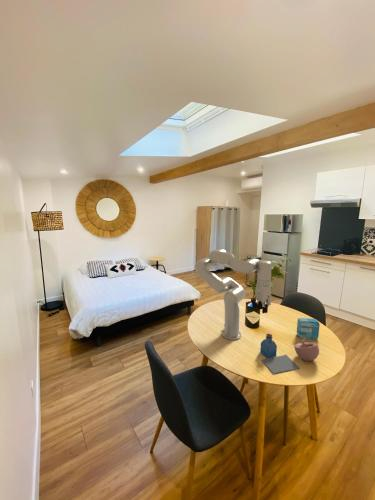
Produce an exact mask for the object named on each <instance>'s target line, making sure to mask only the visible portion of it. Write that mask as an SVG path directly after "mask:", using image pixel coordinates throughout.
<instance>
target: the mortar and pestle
mask: <svg viewBox="0 0 375 500" xmlns="http://www.w3.org/2000/svg"><path fill="white" fill-rule="evenodd" d="M306 339H307V338H303V339H302V340H301V342H300V343H296V344H295V345H294V351H295V352H296V355H297V356H298V357H299V358H300V359H301V360H304V361H307V362H311V361H315V360H316V359H317V358H318V356H320V355H319V354H320V350H319V349H320V348H319V345H318V344H317V343H316V342H311V341H310V342H309V341H307V342H306Z"/></svg>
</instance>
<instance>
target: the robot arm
mask: <svg viewBox="0 0 375 500" xmlns="http://www.w3.org/2000/svg"><path fill="white" fill-rule="evenodd" d="M218 265H221V266H226V267H229V268H230V269H231V270H233V271H235V272H237V273H242V274H245V275H248V274H252V273H254V272H256V271H257V277H256V278H257V279H256V280H257V282H256V284H255V290H254V297H255V298H256V299H257V310H262V312H261V313H262V314H268V307H269V306H271V305H272V303H271V300H272V288H271V284H272V267H273V266H272V265H273V264H272V262H271V261H269V260H266V259H265V260H263V259H262V260H261V259H258V258H254V257H253V258H249V259H247V260H242V259H238V258H236V257H235V255H234V254H233V253H232V252H227V251H226V250H225V249H224V248H218V249H214V250H211V251H210V253H209V254H208V256H207V257H204V258H202V259H199V260H198V261H196V262H195V264H194V271H195V274H196V276H197V277H198V278H199V279H201V280H202V281H203V282H205V283H206V285H208V286H209V287H210V288H211V289H212V290H214V292H215V293H217V294H223V293H224V295H223V303H224V325H223V326H224V328H223V329H224V330H223V329H222V331H221V335H222V337H223V338H224V339H227V340H231V341H235V340H236V341H237V340H239V339H241V337H242V333H241V332H240V306H239V303H240V302H241V301H242V300H244V299H245V298H246V290H245V289H244V287H242V286H241V285H240V284H239V283H238V282H236V281H235V280H234V279H233V278H232V277H229V276H223V277H219V276H218V275H216V273H214V272H212V271H210V270H211V269H213V268H215V267H217V266H218Z"/></svg>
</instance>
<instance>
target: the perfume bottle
mask: <svg viewBox="0 0 375 500" xmlns="http://www.w3.org/2000/svg"><path fill="white" fill-rule="evenodd" d="M265 335H266V336H265V338H264V339H263V340H262V341H261V342H260V348H259V350H260V354H261V355H263V356H264V357H265V358H266V359H267V358H272V357H277V351H278V349H277V348H278V346H277V344H276V342H275V340H273V335H272V334H271V333H266V334H265Z"/></svg>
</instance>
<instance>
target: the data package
mask: <svg viewBox="0 0 375 500" xmlns="http://www.w3.org/2000/svg"><path fill="white" fill-rule="evenodd" d="M320 326H321V325H320V322H319V321H318V319H316V318H306V317H299V318H298V319H297V323H296V334H297V336H298V338H299V339H304V338H305V339H309V340H310V339H311V340H317V339H318V338H319V334H320V333H319V332H320Z"/></svg>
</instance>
